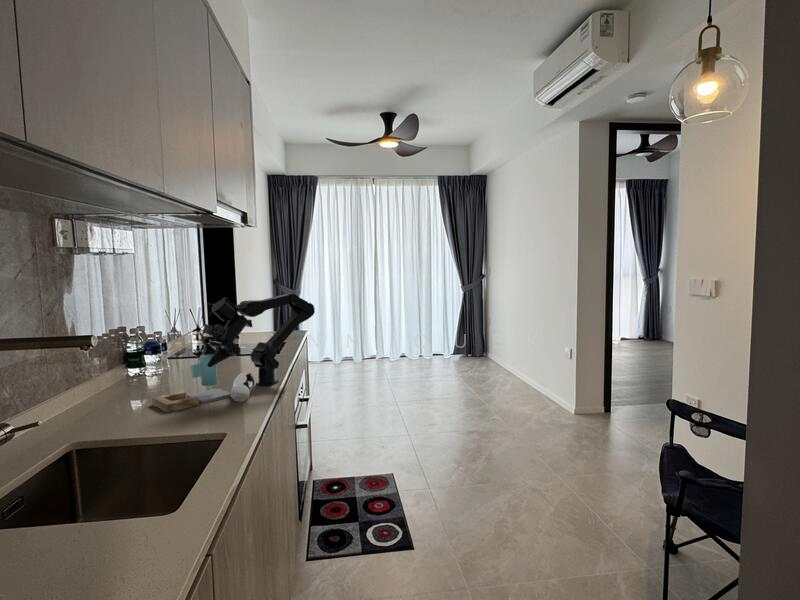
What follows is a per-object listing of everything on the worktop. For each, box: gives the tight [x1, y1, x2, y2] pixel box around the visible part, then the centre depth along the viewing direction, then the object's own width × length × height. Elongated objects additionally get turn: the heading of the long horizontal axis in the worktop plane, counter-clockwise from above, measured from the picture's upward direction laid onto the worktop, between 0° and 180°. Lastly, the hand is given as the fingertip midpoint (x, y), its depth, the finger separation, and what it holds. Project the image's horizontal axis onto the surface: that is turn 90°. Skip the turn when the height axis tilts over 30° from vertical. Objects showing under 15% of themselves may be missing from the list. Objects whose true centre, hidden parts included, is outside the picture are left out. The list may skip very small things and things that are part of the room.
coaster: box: [186, 387, 232, 405], centre depth 161 cm, size 11×11×1 cm
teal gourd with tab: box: [190, 354, 219, 387], centre depth 159 cm, size 8×5×10 cm, turn 139°
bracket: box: [151, 390, 200, 413], centre depth 152 cm, size 10×12×2 cm
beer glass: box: [230, 371, 255, 403], centre depth 162 cm, size 7×7×15 cm
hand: (204, 365), depth 159 cm, fingers closed on teal gourd with tab, 5 cm apart
